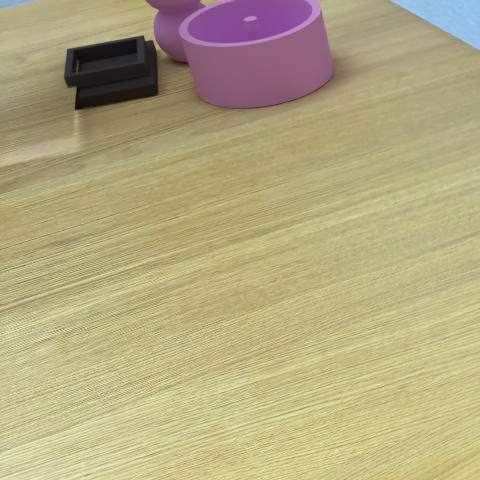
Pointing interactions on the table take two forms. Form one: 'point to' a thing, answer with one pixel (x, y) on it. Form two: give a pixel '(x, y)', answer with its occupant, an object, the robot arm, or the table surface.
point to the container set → (247, 48)
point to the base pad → (112, 71)
